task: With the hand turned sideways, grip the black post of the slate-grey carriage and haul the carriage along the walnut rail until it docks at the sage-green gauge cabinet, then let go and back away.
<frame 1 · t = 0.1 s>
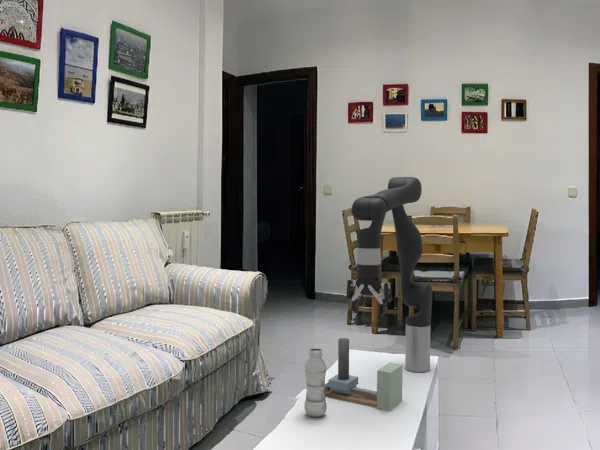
hand: (368, 314, 174), 29 cm above the table, tool pointing down, fingers open, 8 cm apart
gauge cabinet: (389, 404, 177), on the table
carriage: (343, 364, 185), point 10 cm above the table, slide at 0.0 cm
rail: (354, 397, 183), on the table
plastic bottle: (315, 416, 168), on the table
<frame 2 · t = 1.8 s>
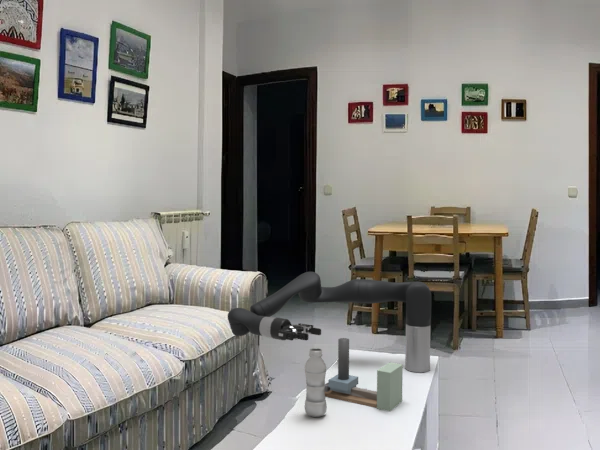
hand: (314, 334, 190), 19 cm above the table, tool horizontal, fingers open, 8 cm apart
nothing on the table moved.
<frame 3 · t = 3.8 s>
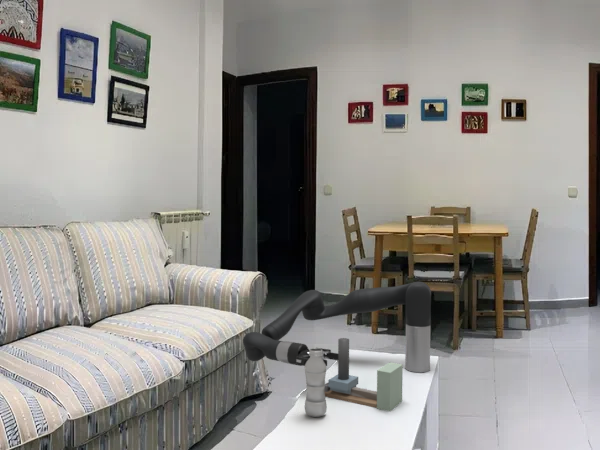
hand: (332, 360, 187), 11 cm above the table, tool horizontal, fingers open, 8 cm apart
nothing on the table moved.
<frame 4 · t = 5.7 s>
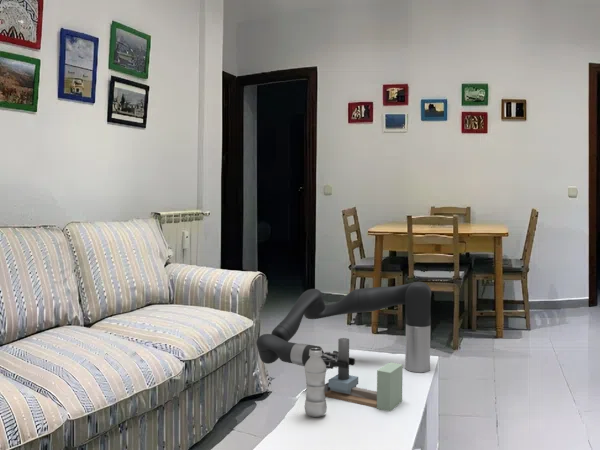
hand: (351, 363, 183), 11 cm above the table, tool horizontal, fingers closed on carriage, 3 cm apart
carriage: (343, 364, 185), point 10 cm above the table, slide at 0.0 cm, touching gripper
everything else where it was.
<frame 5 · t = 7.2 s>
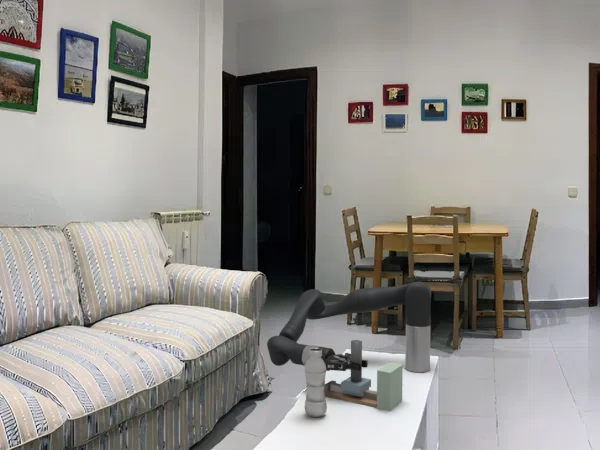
hand: (364, 365, 181), 11 cm above the table, tool horizontal, fingers closed on carriage, 3 cm apart
carriage: (356, 366, 182), point 10 cm above the table, slide at 4.7 cm, touching gripper
everything else where it was.
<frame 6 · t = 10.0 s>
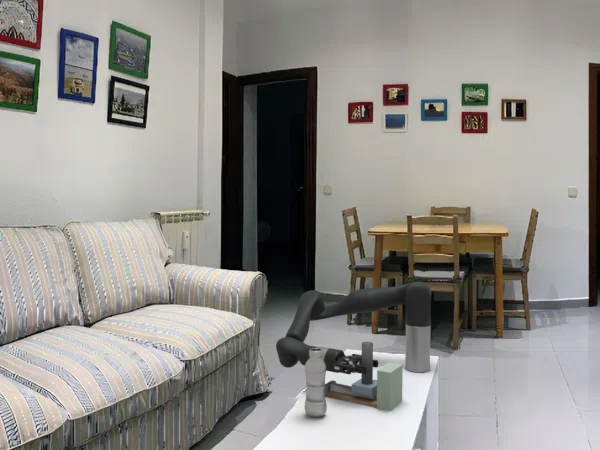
hand: (372, 367, 179), 11 cm above the table, tool horizontal, fingers open, 8 cm apart
carriage: (367, 368, 180), point 10 cm above the table, slide at 8.6 cm
everything else where it was.
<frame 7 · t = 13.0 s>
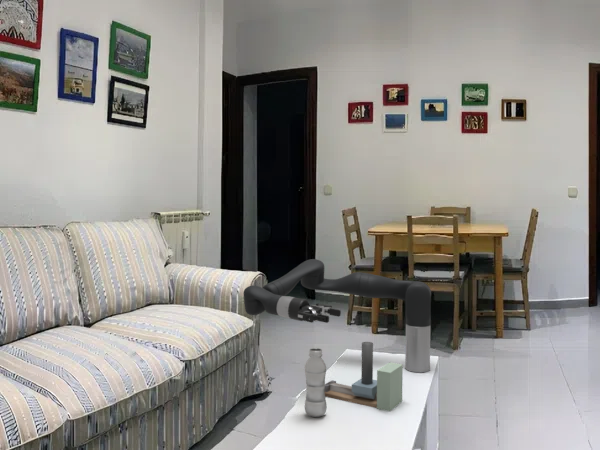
hand: (334, 316, 186), 26 cm above the table, tool horizontal, fingers open, 8 cm apart
nothing on the table moved.
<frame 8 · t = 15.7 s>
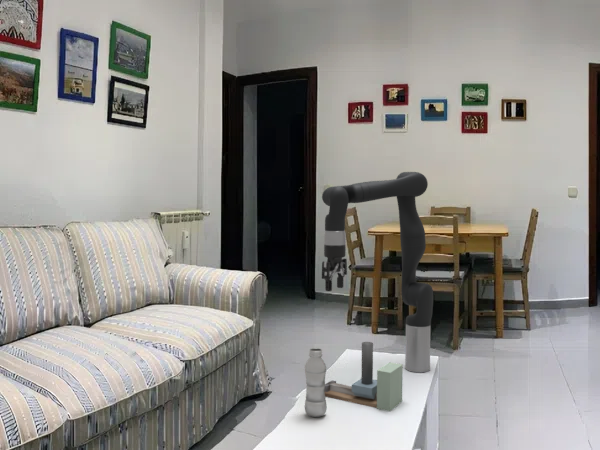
hand: (334, 289, 197), 33 cm above the table, tool pointing down, fingers open, 8 cm apart
nothing on the table moved.
at the end: carriage slide at 8.6 cm; the gripper is holding nothing; plastic bottle moved 0.2 cm from its start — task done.
